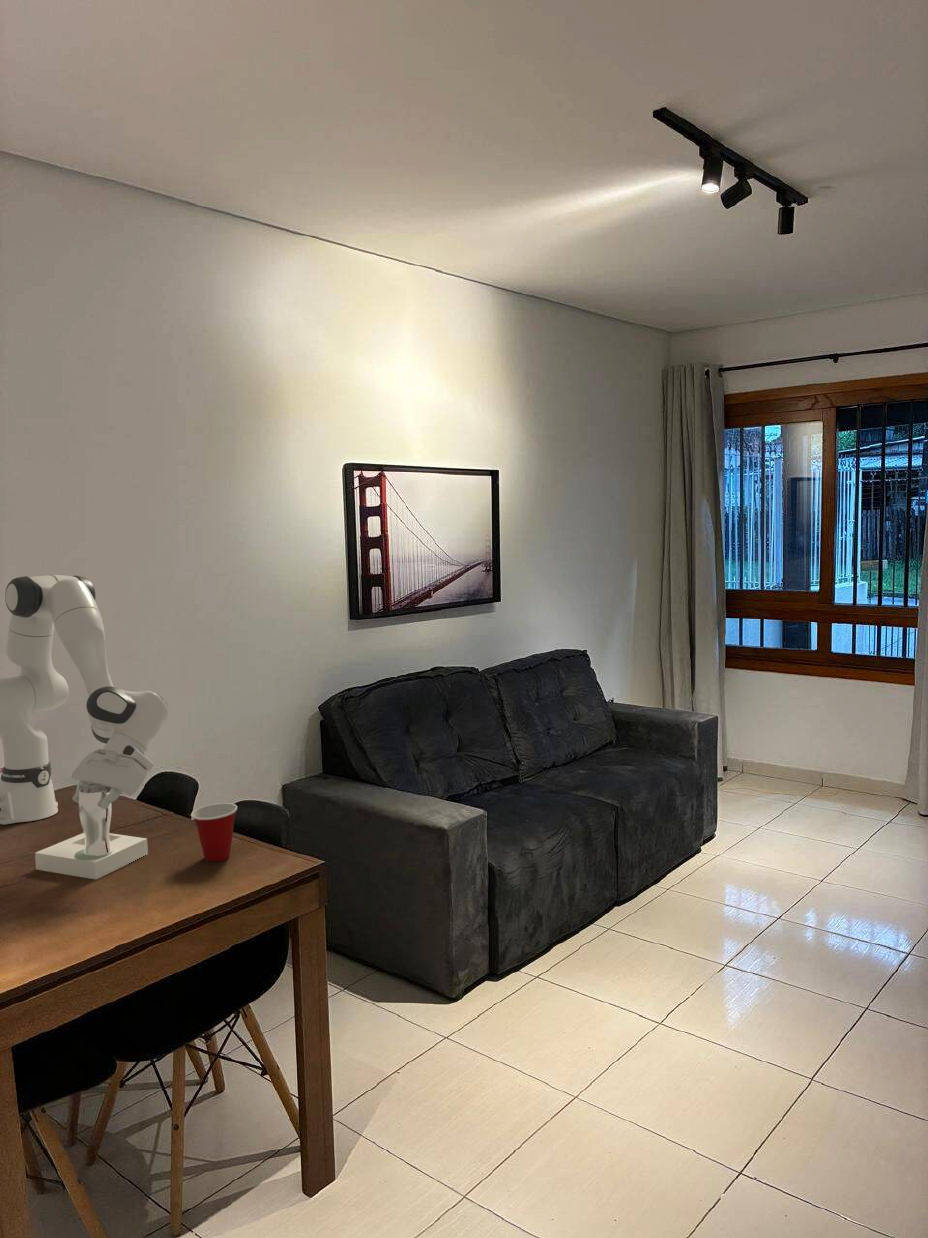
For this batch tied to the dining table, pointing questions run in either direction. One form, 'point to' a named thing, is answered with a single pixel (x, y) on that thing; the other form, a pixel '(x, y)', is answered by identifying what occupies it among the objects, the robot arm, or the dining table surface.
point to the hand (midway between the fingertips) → (88, 804)
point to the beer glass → (95, 820)
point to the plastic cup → (215, 829)
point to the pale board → (74, 862)
